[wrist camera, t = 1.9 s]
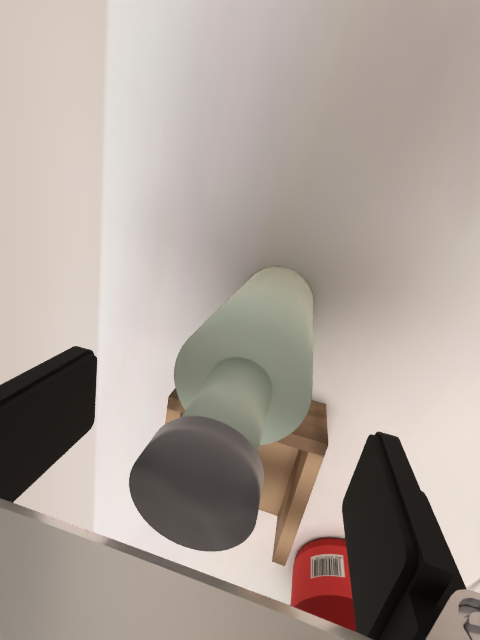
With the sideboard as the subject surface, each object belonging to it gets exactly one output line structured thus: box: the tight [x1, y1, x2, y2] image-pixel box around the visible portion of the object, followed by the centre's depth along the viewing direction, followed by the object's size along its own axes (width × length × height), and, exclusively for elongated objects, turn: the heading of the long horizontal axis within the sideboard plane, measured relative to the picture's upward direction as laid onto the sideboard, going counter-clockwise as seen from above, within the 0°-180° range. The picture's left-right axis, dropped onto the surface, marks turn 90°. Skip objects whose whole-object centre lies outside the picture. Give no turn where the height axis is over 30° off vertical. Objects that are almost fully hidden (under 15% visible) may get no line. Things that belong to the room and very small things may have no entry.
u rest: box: [165, 388, 328, 566], centre depth 25 cm, size 12×11×5 cm
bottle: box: [129, 267, 313, 551], centre depth 15 cm, size 5×5×17 cm
